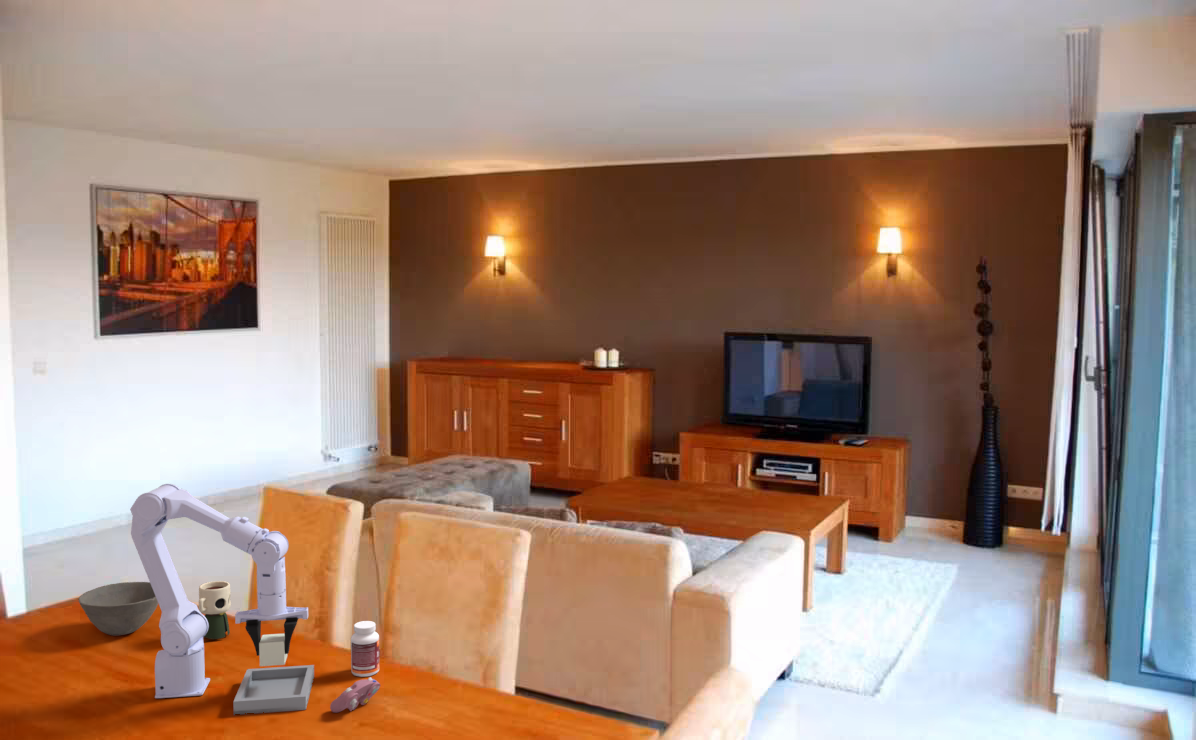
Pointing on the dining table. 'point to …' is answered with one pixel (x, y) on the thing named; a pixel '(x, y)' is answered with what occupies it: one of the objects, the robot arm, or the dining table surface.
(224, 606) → the character mug
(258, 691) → the tray
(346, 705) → the video game controller
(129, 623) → the bowl
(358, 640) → the pill bottle
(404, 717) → the dining table surface
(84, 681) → the dining table surface
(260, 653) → the block
